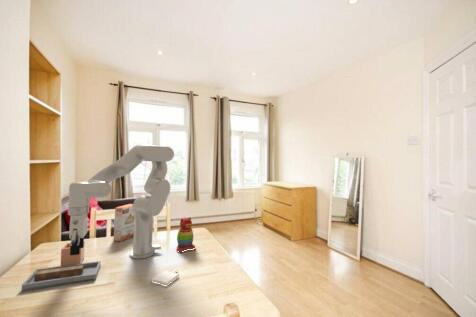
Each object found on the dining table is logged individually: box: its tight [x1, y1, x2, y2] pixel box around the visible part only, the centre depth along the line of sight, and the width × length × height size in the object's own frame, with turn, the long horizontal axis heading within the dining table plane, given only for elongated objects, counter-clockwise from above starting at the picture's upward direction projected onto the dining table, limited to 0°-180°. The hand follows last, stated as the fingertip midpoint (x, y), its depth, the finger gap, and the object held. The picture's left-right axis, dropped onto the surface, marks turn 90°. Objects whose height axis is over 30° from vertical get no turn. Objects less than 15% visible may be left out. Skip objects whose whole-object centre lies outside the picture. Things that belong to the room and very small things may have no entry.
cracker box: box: [113, 203, 134, 243], centre depth 145 cm, size 14×6×21 cm, turn 168°
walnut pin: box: [34, 265, 84, 282], centre depth 95 cm, size 8×3×16 cm
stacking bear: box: [176, 217, 196, 253], centre depth 131 cm, size 11×10×18 cm
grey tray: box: [21, 260, 102, 292], centre depth 95 cm, size 24×13×2 cm, turn 114°
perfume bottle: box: [151, 268, 180, 285], centre depth 98 cm, size 8×2×12 cm
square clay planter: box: [60, 241, 86, 266], centre depth 108 cm, size 8×8×9 cm
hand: (77, 251), depth 97 cm, fingers open, 6 cm apart
